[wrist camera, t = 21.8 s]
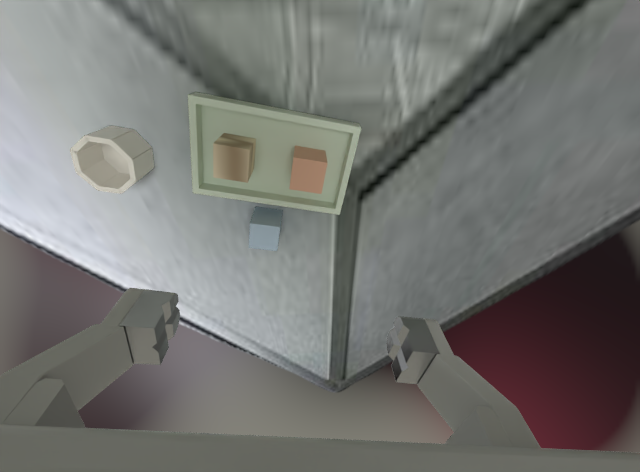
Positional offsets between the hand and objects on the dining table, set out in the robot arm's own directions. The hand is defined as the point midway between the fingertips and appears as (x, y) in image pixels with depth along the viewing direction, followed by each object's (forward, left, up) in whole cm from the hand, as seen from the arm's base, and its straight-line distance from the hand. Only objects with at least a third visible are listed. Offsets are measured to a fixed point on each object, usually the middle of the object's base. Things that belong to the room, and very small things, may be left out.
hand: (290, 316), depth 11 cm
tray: (-3, -4, -31) cm, 32 cm away
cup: (-22, -7, -31) cm, 39 cm away
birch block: (-8, -4, -30) cm, 32 cm away
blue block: (-3, -14, -31) cm, 34 cm away
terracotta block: (+1, -4, -30) cm, 31 cm away
